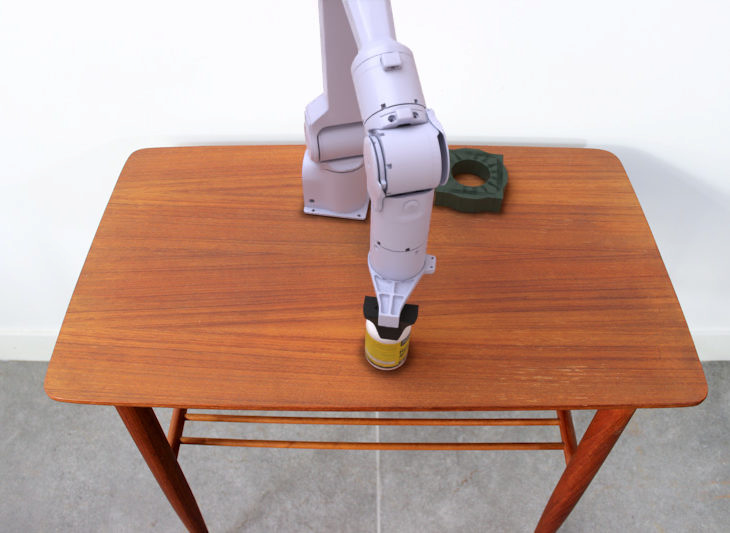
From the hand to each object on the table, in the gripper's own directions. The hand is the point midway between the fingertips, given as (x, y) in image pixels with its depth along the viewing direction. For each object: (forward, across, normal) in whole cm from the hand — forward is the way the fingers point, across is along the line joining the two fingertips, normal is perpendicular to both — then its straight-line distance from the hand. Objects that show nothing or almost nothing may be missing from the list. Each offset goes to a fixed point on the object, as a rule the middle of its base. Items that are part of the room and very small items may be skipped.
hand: (393, 308), depth 69 cm
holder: (+9, +32, -9) cm, 34 cm away
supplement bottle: (+9, 0, 0) cm, 9 cm away
